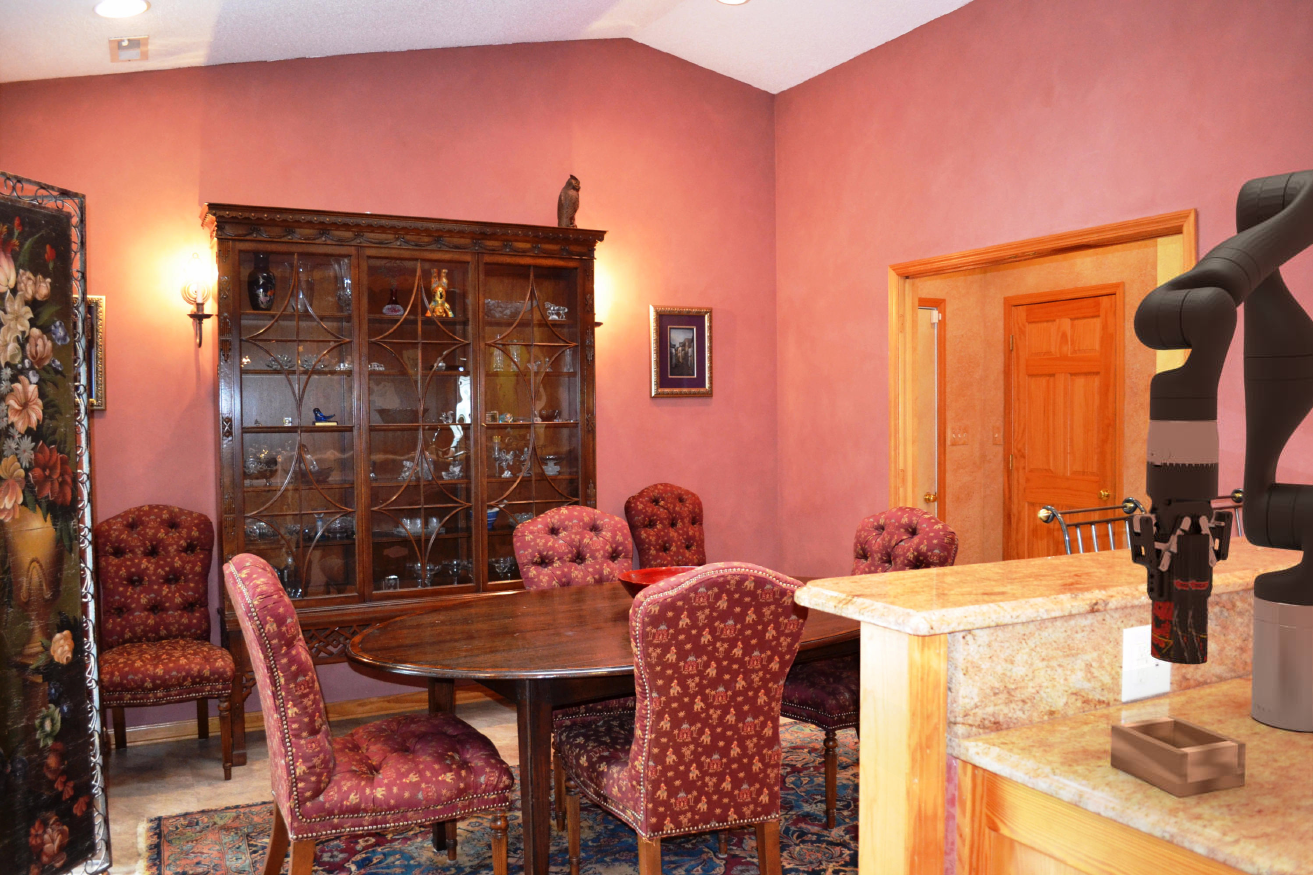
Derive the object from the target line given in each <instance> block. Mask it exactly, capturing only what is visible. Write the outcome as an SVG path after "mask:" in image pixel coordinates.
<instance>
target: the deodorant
mask: <svg viewBox="0 0 1313 875" xmlns="http://www.w3.org/2000/svg"><path fill="white" fill-rule="evenodd" d="M1171 536H1172V535H1163V534H1157V533H1155V542H1158V543H1164V544H1166V543H1168V542H1169V541H1170V538H1171ZM1209 543H1210V534H1186V535H1184V536H1178V540H1177V542H1176V544H1177V553H1175V554H1172V558H1171V561H1170V563H1169V566H1168V569H1167V570H1166V571H1168V572H1169V596H1168V601H1167V602H1162V603H1161V602H1157V601H1152V600H1151V605H1150V606H1151V607H1150V608H1151V612H1150V613H1151V614H1150V615H1151V617H1150V618H1151V619H1150V625H1151V626H1150V656H1151V657H1152V658H1154V659H1156V660H1158V661H1162V662H1167V663H1172V664H1177V665H1178V664H1179V665H1202V664H1206V663H1207V662H1208V651H1209V650H1208V648H1209V645H1208V644H1209V642H1208V640H1209V598H1210V597H1209ZM1161 553H1162V550H1157V559H1159V558H1160V556H1161Z"/></svg>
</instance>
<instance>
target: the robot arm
mask: <svg viewBox="0 0 1313 875" xmlns="http://www.w3.org/2000/svg"><path fill="white" fill-rule="evenodd" d="M1235 225H1236V226H1235V227H1236V234H1234V235H1233V236H1231V237H1229V238H1226V239H1225V240H1224V241H1222V242H1220V243H1219V244H1217V245H1215V246H1214V247H1213V248H1211V249H1210V250H1209V251H1208V252H1207V253H1206V254H1205V255H1203V257H1202V258H1201V259H1200V260H1198V262H1197V263H1196V264H1195V265H1194V266H1193V267H1192V268H1191V269H1190V270H1188V271H1186V272H1184V273H1182V274H1179V275H1178V276H1176V277H1174V278H1172V279H1170V280H1168V281H1167V282H1165V283H1163V284H1160V285H1159V286H1158V287H1156V288H1154V289H1152V290H1151V291H1150V292H1149V293H1148V294H1147V295H1146V296H1145V297H1144V298H1143V299H1142V300H1141V301H1140V303H1139V304H1138V306H1137V308H1136V311H1135V313H1134V316H1133V330H1134V333H1135V336H1136V338H1137V339H1138V340H1139V342H1140V343H1141V344H1142V345H1144V346H1145V347H1147V348H1148V349H1152V350H1157V351H1174V350H1175V351H1176V350H1177V351H1178V350H1190V353H1189V354H1188V357H1187V358H1186V361H1185V362H1184V363H1183V365H1181V366H1178V367H1176V368H1172V369H1168V370H1163V371H1160V372H1158V373H1155V374H1154V375H1153V377H1152V378H1151V381H1150V385H1149V424H1148V428H1147V429H1148V431H1147V435H1146V437H1147V438H1146V464H1145V466H1146V470H1145V477H1146V478H1145V494H1146V496H1148V497H1149V498H1150V500H1151V505H1150V507H1149V510H1148V513H1144V514H1134V513H1133V514H1132V513H1131V514H1129V515H1128V519H1127V521H1128V522H1127V524H1128V533H1129V534H1128V535H1129V542H1130V553H1131V562H1132V563H1133V564H1135V565H1136V564H1137V565H1140V566H1143V567H1145V569H1146V593H1147V597H1148V598H1149V600H1151V602H1152V601H1157V602H1161V603H1162V602H1167V601H1168V596H1169V572H1168V571H1166V570H1167V569H1168V566H1169V563H1170V561H1171V558H1172V554H1175V553H1177V544H1176V542H1177V540H1178V536H1184V535H1186V534H1210V543H1209V598H1210V597H1211V596H1212V593H1213V592H1212V590H1213V585H1214V584H1213V583H1214V582H1213V581H1214V576H1213V575H1214V567H1215V566H1216V565H1217V563H1218V562H1220V561H1226V560H1227V559H1228V558H1229V554H1230V553H1229V552H1230V543H1231V536H1232V527H1233V520H1234V514H1233V512H1232V511H1229V510H1219V509H1214V508H1213V506H1212V503H1211V502H1212V501H1214V500H1216V499H1217V498H1218V496H1219V476H1220V475H1219V472H1220V471H1219V468H1220V467H1219V466H1220V464H1219V463H1220V435H1219V430H1218V428H1219V427H1218V421H1217V420H1218V396H1219V394H1218V393H1219V392H1218V389H1219V385H1220V384H1219V383H1220V380H1221V376H1222V373H1223V368H1224V365H1225V362H1226V359H1227V356H1228V352H1229V349H1230V346H1231V344H1232V341H1233V339H1234V336H1235V331H1236V328H1237V324H1238V308H1239V307H1240V306H1241V305H1242V304H1243V350H1242V351H1243V352H1242V353H1243V354H1242V355H1243V357H1242V358H1243V386H1244V388H1243V389H1244V403H1245V404H1244V406H1245V407H1244V409H1245V410H1244V411H1245V456H1244V458H1245V459H1244V472H1243V486H1242V487H1243V488H1242V501H1241V502H1242V504H1241V506H1242V507H1241V509H1242V510H1241V518H1242V519H1241V520H1242V521H1241V522H1242V529H1243V533H1244V536H1245V539H1246V540H1247V541H1248V543H1249V544H1251V545H1252V546H1256V547H1261V548H1269V549H1276V550H1278V549H1279V550H1287V551H1297V552H1303V554H1302V557H1301V560H1300V562H1299V563H1297V564H1295V565H1293V566H1291V567H1288V568H1285V569H1279V570H1273V571H1269V572H1268V571H1267V572H1263V573H1261V574H1258V575H1257V576H1255V577H1254V580H1253V604H1252V606H1253V607H1252V608H1253V611H1252V612H1253V615H1252V620H1253V621H1252V655H1251V656H1252V658H1251V660H1252V661H1251V662H1252V663H1251V665H1252V666H1251V667H1252V668H1251V702H1250V703H1251V704H1250V715H1251V717H1252V718H1253V719H1254V720H1256V721H1258V722H1260V723H1263V724H1265V725H1269V726H1272V727H1275V728H1279V729H1284V730H1290V731H1298V732H1299V731H1300V732H1313V484H1305V483H1304V484H1303V483H1285V482H1277V480H1276V478H1277V476H1276V475H1277V468H1278V463H1279V459H1280V456H1281V455H1282V452H1283V450H1284V448H1285V446H1286V445H1287V443H1288V441H1289V440H1290V438H1291V437H1292V435H1293V434H1294V432H1295V431H1296V430H1297V429H1298V427H1299V426H1300V425H1301V423H1302V422H1303V421H1304V419H1306V417H1307V416H1308V415H1309V414H1310V412H1311V411H1312V409H1313V319H1312V318H1311V317H1310V315H1309V314H1308V313H1307V312H1306V310H1305V309H1304V308H1303V306H1301V304H1300V303H1299V301H1298V300H1297V299H1296V298H1295V296H1294V295H1293V294H1292V292H1291V291H1290V290H1289V288H1288V287H1287V284H1286V283H1285V281H1284V279H1283V276H1282V274H1281V270H1280V267H1281V266H1283V265H1285V264H1286V263H1287V262H1288V261H1290V260H1291V259H1293V258H1294V257H1296V256H1298V255H1299V254H1300V253H1302V252H1304V251H1305V250H1307V248H1309V247H1310V246H1312V245H1313V169H1303V170H1300V171H1299V170H1298V171H1293V172H1287V173H1282V174H1274V175H1268V176H1263V177H1257V178H1252V179H1250V180H1248V181H1246V182H1245V183H1244V184H1242V186H1241V187H1240V189H1239V192H1238V195H1237V199H1236V205H1235ZM1155 533H1157V534H1163V535H1172V536H1171V538H1170V541H1169V542H1168V543H1166V544H1164V543H1158V542H1155ZM1216 540H1218V544H1217V545H1218V546H1217V548H1215V547H1216ZM1157 550H1162V553H1161V556H1160V558H1159V559H1157ZM1143 552H1144V554H1143Z"/></svg>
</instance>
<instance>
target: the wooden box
mask: <svg viewBox="0 0 1313 875" xmlns="http://www.w3.org/2000/svg"><path fill="white" fill-rule="evenodd" d="M1110 728H1111V729H1110V734H1111V735H1110V766H1112V767H1114V768H1116V769H1119V770H1121V771H1123V772H1125V773H1127V774H1129V775H1131V776H1133V777H1135V778H1137V779H1140V780H1142V781H1144V782H1146V783H1148V784H1150V785H1153V786H1154V787H1156V788H1158V789H1160V790H1163V791H1165V792H1167V793H1169V794H1171V795H1173V796H1175V797H1178V798H1181V797H1188V796H1194V795H1198V794H1205V793H1209V792H1210V793H1211V792H1215V791H1221V790H1227V789H1230V788H1231V789H1232V788H1237V787H1242V786H1245V785H1246V780H1245V779H1246V748H1247V747H1246V742H1244V741H1241V740H1238V739H1237V738H1234V737H1231V736H1229V735H1225V734H1222V733H1221V732H1218V731H1215V730H1212V729H1210V728H1207V727H1204V726H1202V725H1198V724H1196V723H1194V722H1191V721H1188V720H1186V719H1183V718H1181V717H1178V716H1175V715H1169V716H1164V717H1157V718H1150V719H1143V720H1135V721H1131V722H1124V723H1123V722H1122V723H1118V724H1117V723H1116V724H1111V725H1110Z"/></svg>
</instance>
